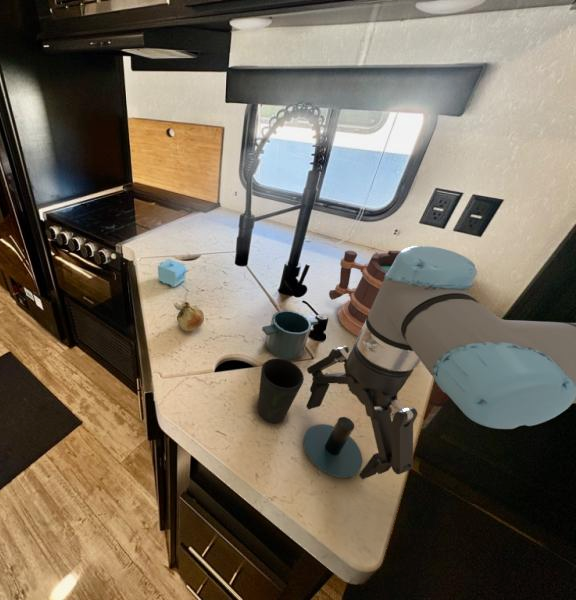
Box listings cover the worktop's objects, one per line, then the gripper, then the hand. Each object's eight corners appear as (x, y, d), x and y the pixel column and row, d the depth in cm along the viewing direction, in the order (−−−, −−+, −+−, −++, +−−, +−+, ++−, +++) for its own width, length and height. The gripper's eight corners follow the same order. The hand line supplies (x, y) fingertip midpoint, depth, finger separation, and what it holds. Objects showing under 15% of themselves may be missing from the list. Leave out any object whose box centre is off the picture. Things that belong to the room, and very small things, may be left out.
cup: (275, 392, 69) (286, 354, 62) (297, 420, 64) (312, 382, 57) (245, 402, 67) (253, 364, 60) (266, 433, 61) (277, 394, 54)
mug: (335, 292, 102) (355, 235, 91) (415, 320, 90) (451, 259, 79) (313, 318, 91) (333, 257, 79) (402, 355, 79) (441, 289, 67)
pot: (319, 352, 79) (328, 327, 75) (269, 365, 76) (276, 339, 71) (297, 330, 87) (304, 305, 82) (251, 341, 83) (255, 316, 78)
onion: (180, 338, 84) (181, 315, 79) (173, 320, 90) (173, 298, 85) (207, 334, 85) (209, 310, 81) (197, 316, 92) (199, 294, 87)
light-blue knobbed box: (193, 284, 106) (194, 264, 102) (183, 292, 102) (183, 272, 98) (165, 273, 112) (165, 255, 108) (155, 280, 108) (154, 261, 104)
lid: (373, 469, 56) (393, 441, 50) (326, 487, 53) (343, 460, 48) (334, 421, 63) (348, 393, 58) (292, 435, 61) (303, 407, 56)
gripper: (305, 307, 52) (280, 388, 65) (453, 443, 33) (377, 521, 45) (341, 299, 54) (310, 379, 66) (502, 423, 35) (415, 503, 47)
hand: (337, 437), depth 56 cm, fingers open, 13 cm apart
